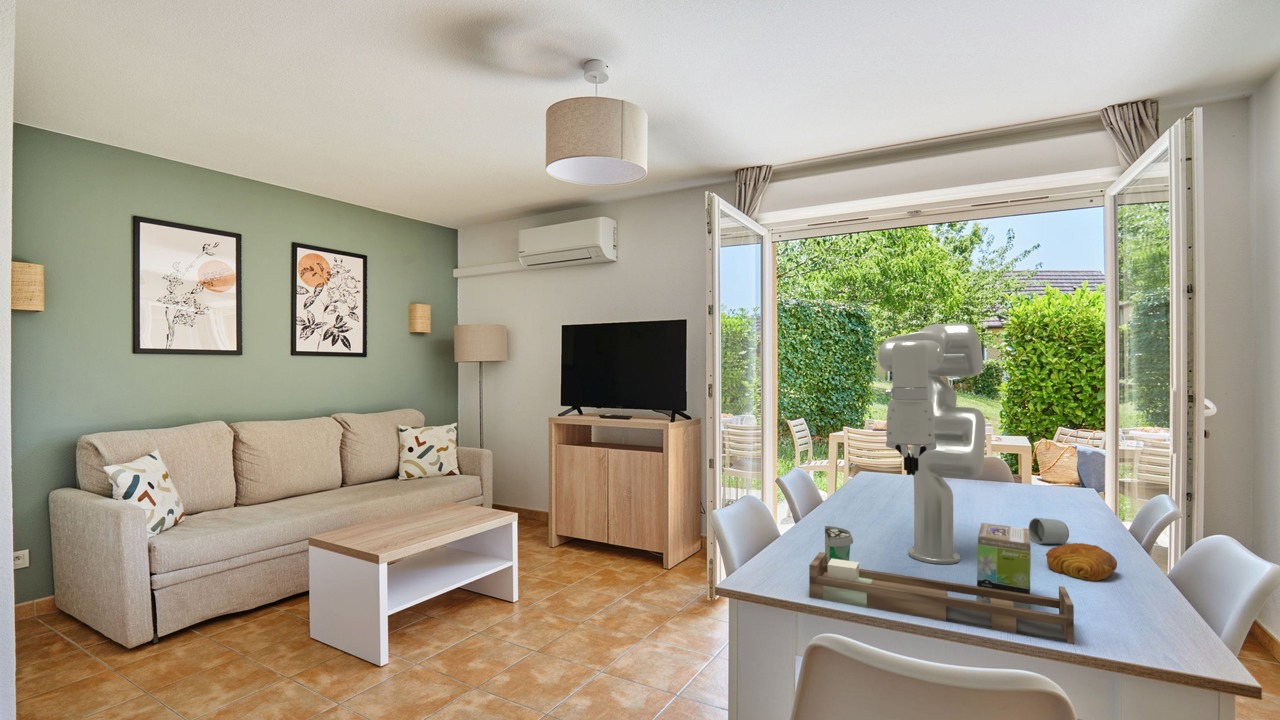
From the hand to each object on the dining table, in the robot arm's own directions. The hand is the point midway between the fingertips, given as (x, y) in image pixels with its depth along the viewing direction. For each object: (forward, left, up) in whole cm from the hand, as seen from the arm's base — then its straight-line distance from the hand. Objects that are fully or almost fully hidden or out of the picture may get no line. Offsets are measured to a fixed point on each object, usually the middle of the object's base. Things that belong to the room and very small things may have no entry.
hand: (911, 473), depth 140 cm
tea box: (-4, +18, -27) cm, 33 cm away
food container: (-4, -17, -27) cm, 32 cm away
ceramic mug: (-62, +32, -27) cm, 74 cm away
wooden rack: (+11, +4, -26) cm, 29 cm away
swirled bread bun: (-34, +36, -27) cm, 57 cm away
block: (+12, -13, -23) cm, 29 cm away
